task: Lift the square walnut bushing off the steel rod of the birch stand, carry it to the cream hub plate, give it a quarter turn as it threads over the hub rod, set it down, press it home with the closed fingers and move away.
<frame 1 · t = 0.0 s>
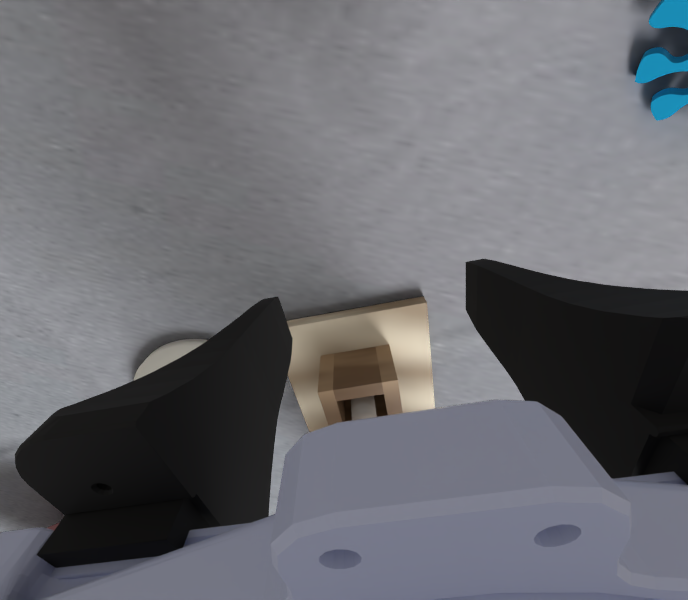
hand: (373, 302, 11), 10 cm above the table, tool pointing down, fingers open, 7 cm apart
birch stand: (359, 367, 26), on the table
cream hub plate: (209, 392, 27), on the table
walnut bushing: (360, 375, 25), point 1 cm above the table, touching birch stand
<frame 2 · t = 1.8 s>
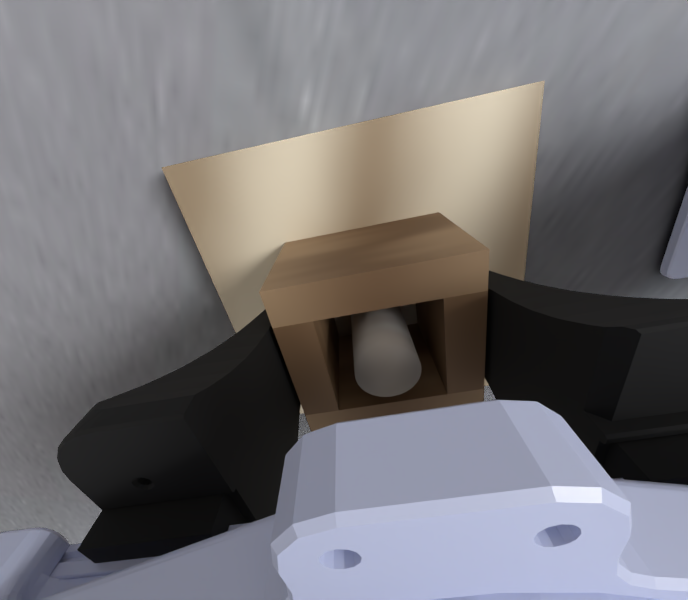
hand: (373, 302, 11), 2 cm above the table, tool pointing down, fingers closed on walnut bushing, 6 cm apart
birch stand: (369, 284, 13), on the table
walnut bushing: (371, 295, 12), point 1 cm above the table, touching birch stand, gripper
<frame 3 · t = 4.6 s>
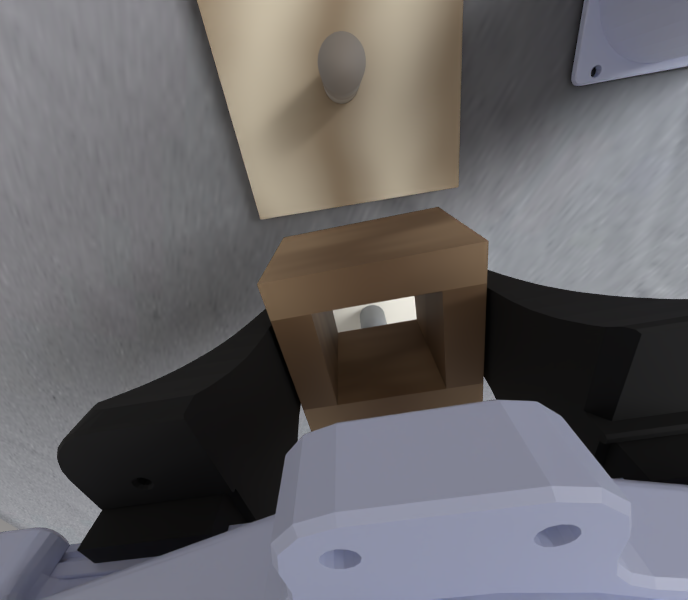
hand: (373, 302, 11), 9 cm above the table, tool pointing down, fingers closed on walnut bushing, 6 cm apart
birch stand: (341, 85, 16), on the table
cream hub plate: (370, 308, 23), on the table
walnut bushing: (370, 291, 12), point 9 cm above the table, touching gripper
when the fingers open (3 cm above the table, at t = 7.5 s): walnut bushing stays where it is, resting on cream hub plate.
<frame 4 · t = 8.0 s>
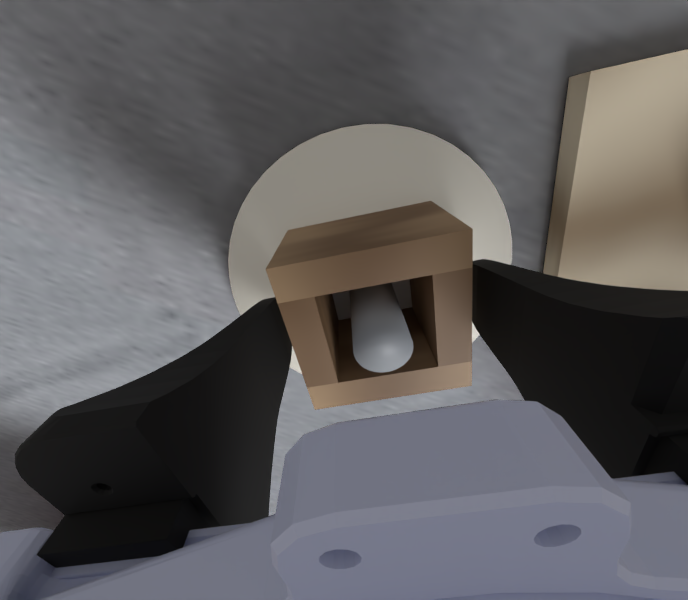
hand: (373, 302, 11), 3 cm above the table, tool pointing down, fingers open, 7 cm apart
cream hub plate: (367, 275, 14), on the table
walnut bushing: (369, 280, 13), point 1 cm above the table, touching cream hub plate
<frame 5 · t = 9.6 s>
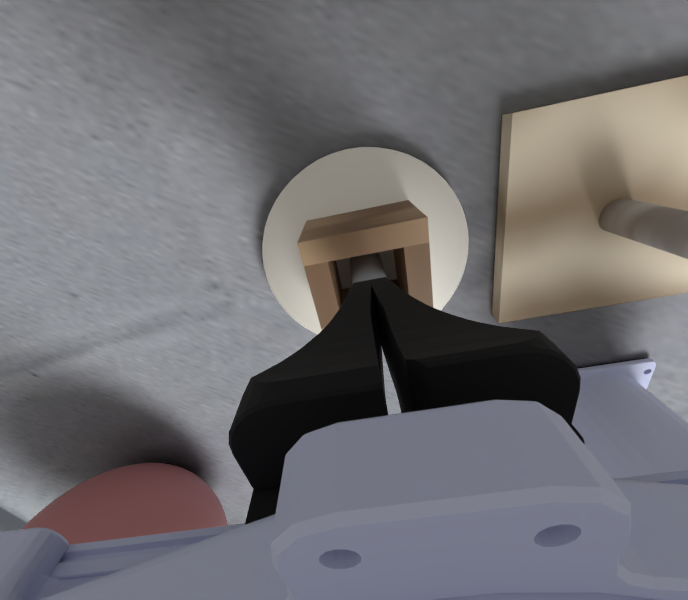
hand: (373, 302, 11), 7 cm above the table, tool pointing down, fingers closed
balloon: (159, 484, 30), on the table
birch stand: (602, 211, 17), on the table
cream hub plate: (364, 255, 18), on the table
walnut bushing: (364, 258, 17), point 1 cm above the table, touching cream hub plate
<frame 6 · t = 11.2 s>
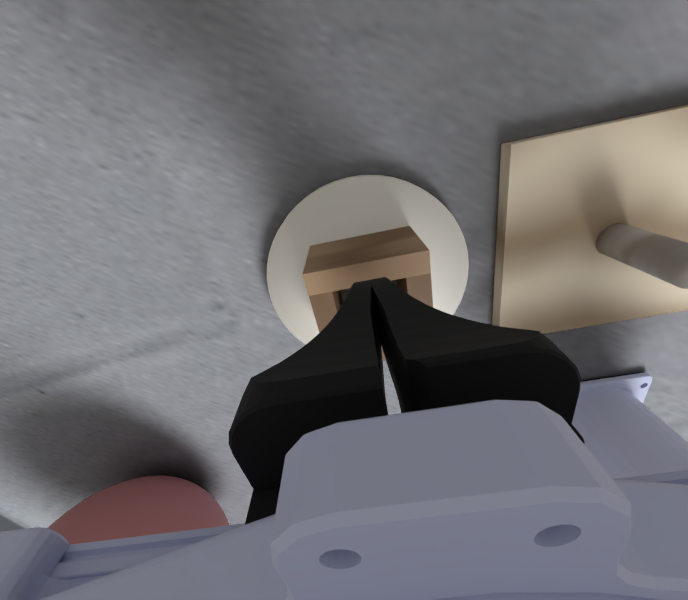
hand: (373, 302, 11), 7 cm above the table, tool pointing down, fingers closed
balloon: (164, 495, 30), on the table
birch stand: (598, 233, 18), on the table
cream hub plate: (366, 277, 19), on the table
walnut bushing: (367, 280, 18), point 1 cm above the table, touching cream hub plate
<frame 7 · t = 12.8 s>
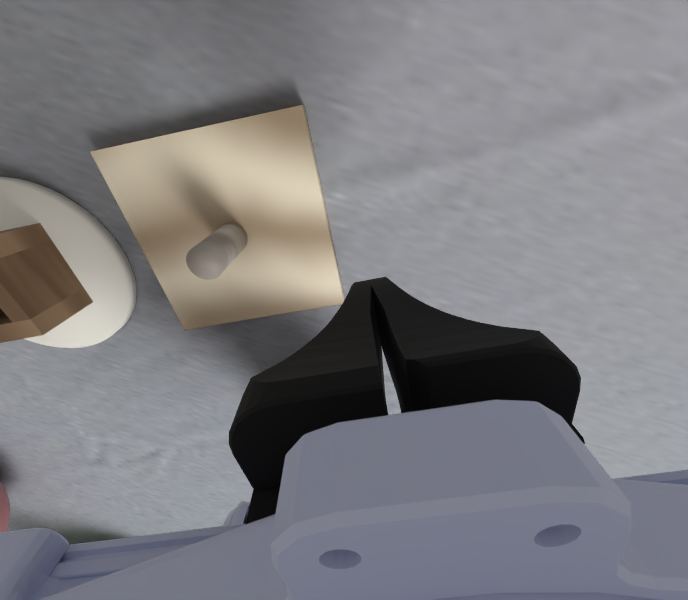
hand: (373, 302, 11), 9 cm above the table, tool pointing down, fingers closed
birch stand: (238, 232, 20), on the table
cream hub plate: (45, 269, 21), on the table
walnut bushing: (29, 272, 20), point 1 cm above the table, touching cream hub plate
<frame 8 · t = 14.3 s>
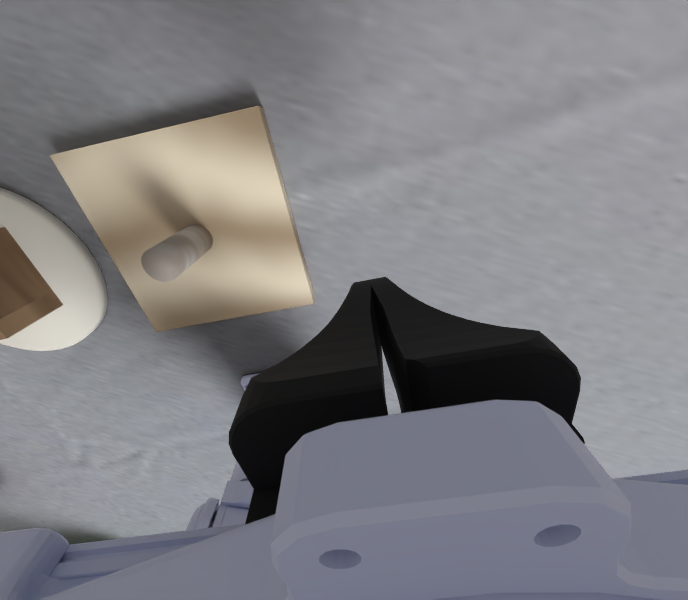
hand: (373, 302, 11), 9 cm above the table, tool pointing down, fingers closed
birch stand: (204, 234, 20), on the table
cream hub plate: (14, 273, 21), on the table
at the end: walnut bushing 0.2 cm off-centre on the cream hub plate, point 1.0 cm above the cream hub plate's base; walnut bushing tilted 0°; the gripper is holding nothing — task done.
